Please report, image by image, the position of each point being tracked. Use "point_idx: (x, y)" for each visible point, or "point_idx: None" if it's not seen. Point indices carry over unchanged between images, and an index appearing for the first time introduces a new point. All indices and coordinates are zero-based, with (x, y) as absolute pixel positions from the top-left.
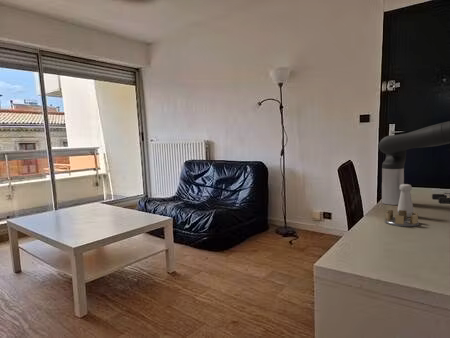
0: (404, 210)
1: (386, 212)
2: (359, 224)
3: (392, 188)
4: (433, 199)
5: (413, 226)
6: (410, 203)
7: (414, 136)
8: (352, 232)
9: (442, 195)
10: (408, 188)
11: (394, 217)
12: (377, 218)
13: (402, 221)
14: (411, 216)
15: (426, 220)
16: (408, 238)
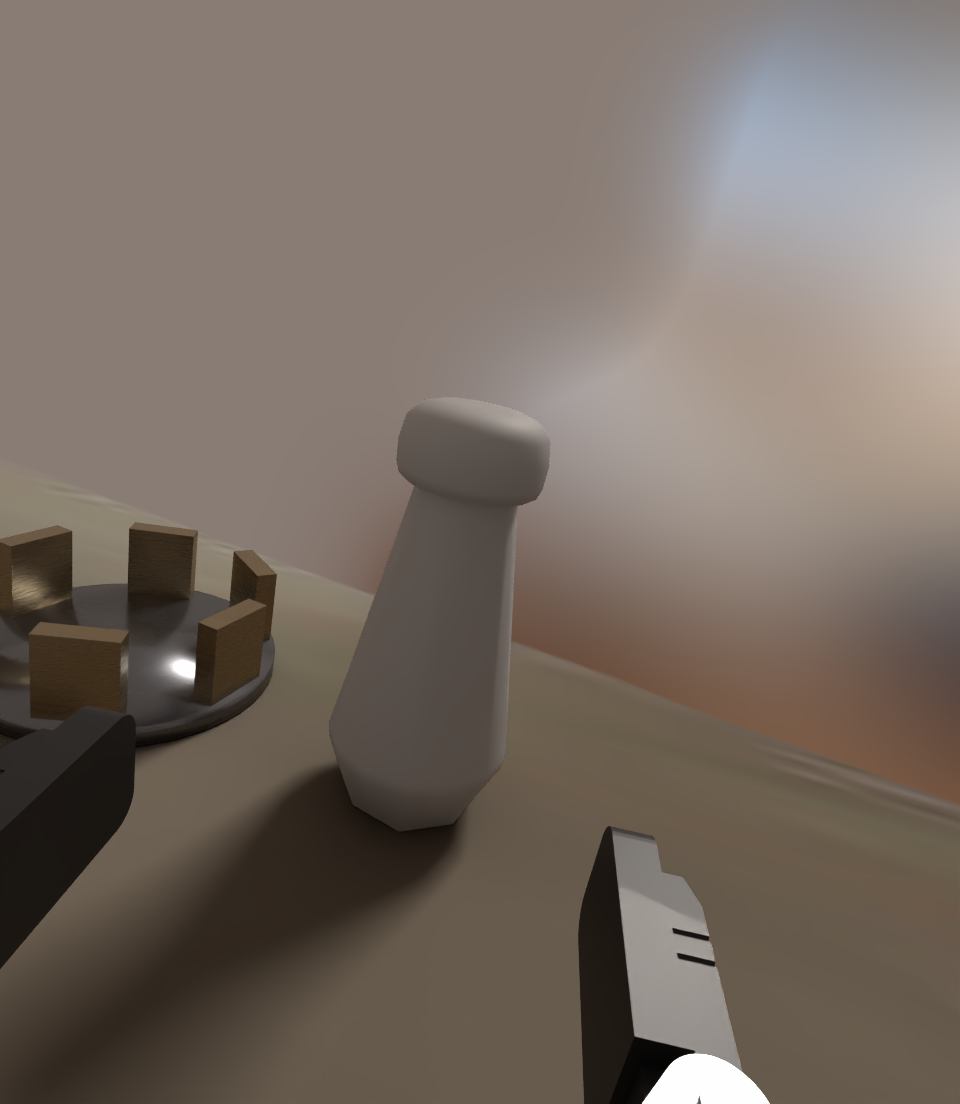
0: (229, 620)
1: (188, 531)
2: (179, 525)
3: None
4: (581, 934)
5: None
6: (369, 650)
7: None
8: (29, 474)
9: (626, 1040)
10: (399, 441)
11: (267, 654)
12: (322, 616)
13: (6, 584)
14: None
15: (142, 882)
16: None
